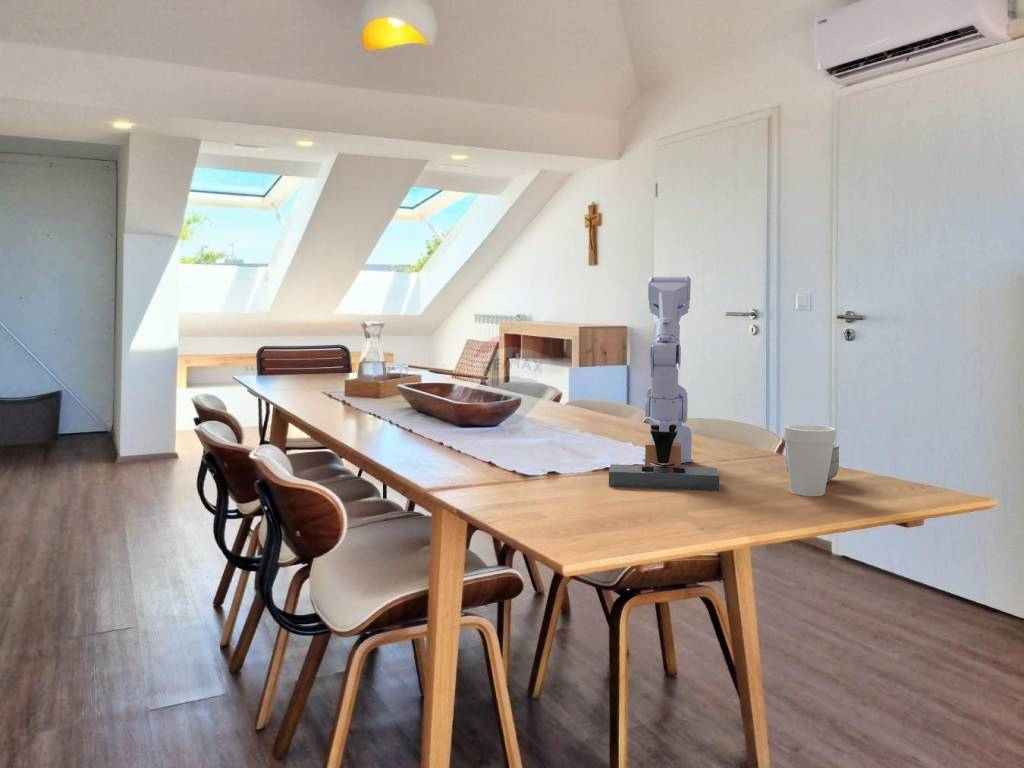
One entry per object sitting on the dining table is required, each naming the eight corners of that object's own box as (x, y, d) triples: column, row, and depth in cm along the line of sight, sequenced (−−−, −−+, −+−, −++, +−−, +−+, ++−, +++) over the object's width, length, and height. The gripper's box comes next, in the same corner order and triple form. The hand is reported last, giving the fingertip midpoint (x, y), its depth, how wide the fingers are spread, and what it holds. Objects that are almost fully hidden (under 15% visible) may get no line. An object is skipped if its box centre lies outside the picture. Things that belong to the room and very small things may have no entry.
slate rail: (716, 482, 172) (716, 468, 171) (719, 490, 164) (719, 475, 164) (610, 478, 175) (610, 464, 175) (608, 486, 168) (608, 471, 167)
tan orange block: (680, 474, 180) (680, 442, 179) (680, 478, 176) (681, 445, 175) (645, 472, 181) (645, 441, 180) (644, 476, 177) (645, 444, 176)
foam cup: (827, 500, 156) (829, 432, 155) (777, 494, 161) (779, 428, 160) (836, 490, 164) (839, 426, 163) (789, 485, 169) (791, 423, 168)
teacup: (812, 488, 166) (814, 449, 165) (772, 478, 176) (774, 441, 175) (859, 482, 172) (861, 444, 172) (819, 473, 182) (820, 437, 181)
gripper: (645, 393, 185) (644, 453, 186) (645, 401, 170) (643, 465, 172) (677, 394, 183) (676, 454, 185) (679, 401, 169) (678, 466, 170)
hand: (662, 459), depth 178 cm, fingers open, 6 cm apart
